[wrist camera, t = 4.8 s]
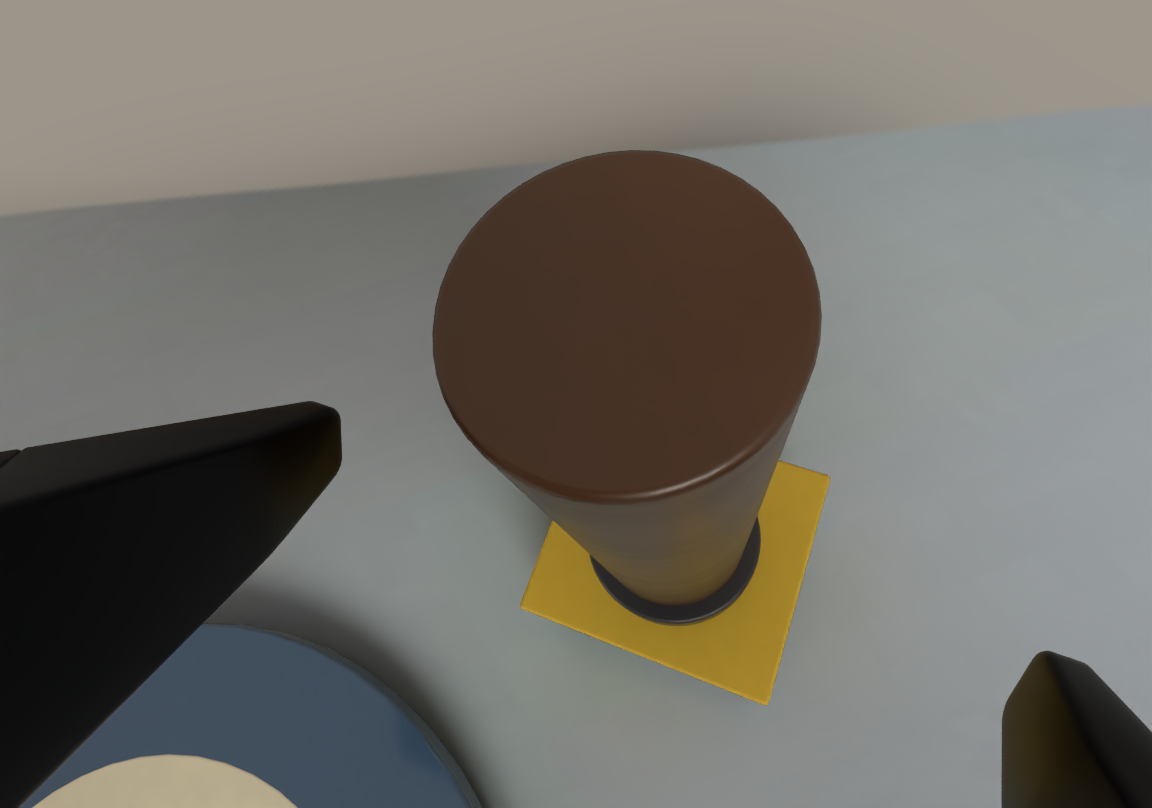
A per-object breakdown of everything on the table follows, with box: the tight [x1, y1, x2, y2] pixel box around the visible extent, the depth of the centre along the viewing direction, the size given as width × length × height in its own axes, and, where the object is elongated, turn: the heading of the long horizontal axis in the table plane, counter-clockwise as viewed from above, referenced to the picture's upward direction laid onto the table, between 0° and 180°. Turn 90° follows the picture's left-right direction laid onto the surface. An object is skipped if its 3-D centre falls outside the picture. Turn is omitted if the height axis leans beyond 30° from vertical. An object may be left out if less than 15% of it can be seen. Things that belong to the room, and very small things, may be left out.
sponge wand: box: [433, 150, 830, 705], centre depth 11 cm, size 4×5×14 cm
